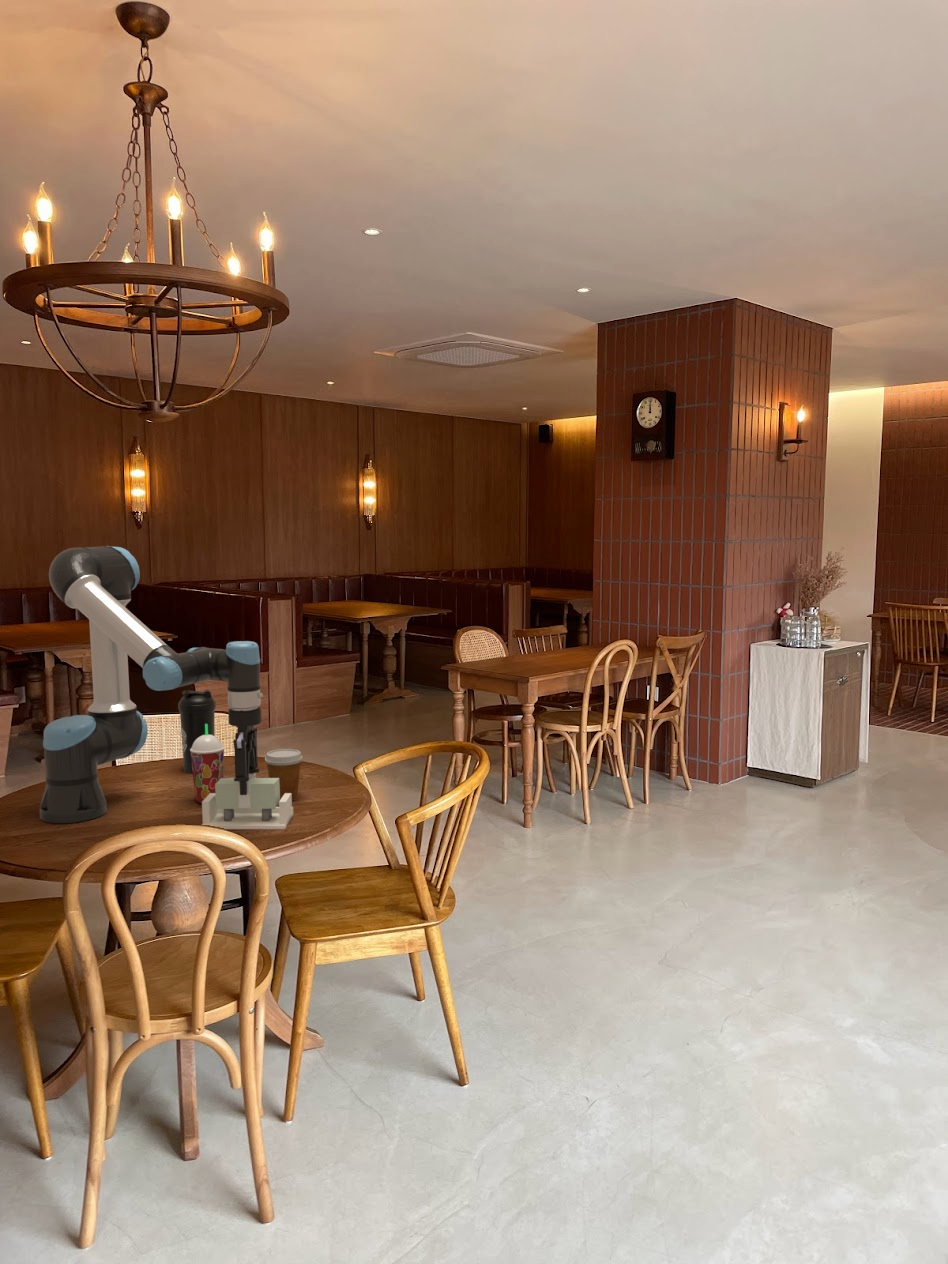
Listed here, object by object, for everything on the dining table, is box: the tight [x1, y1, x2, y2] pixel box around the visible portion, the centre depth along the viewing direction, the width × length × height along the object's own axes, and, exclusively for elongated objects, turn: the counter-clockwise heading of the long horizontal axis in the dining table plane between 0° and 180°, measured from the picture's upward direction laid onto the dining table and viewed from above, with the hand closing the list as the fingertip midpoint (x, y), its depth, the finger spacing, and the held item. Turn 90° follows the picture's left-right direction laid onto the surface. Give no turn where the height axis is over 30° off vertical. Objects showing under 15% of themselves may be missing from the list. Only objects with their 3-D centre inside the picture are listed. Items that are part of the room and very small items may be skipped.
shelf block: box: [215, 777, 280, 809], centre depth 226 cm, size 14×5×6 cm, turn 89°
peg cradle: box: [201, 793, 294, 830], centre depth 227 cm, size 20×11×6 cm, turn 90°
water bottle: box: [177, 689, 216, 775], centre depth 272 cm, size 10×10×23 cm
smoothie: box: [190, 724, 225, 804], centre depth 243 cm, size 8×8×20 cm
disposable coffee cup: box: [264, 748, 303, 801], centre depth 245 cm, size 10×10×12 cm
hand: (247, 803), depth 227 cm, fingers closed on shelf block, 5 cm apart
